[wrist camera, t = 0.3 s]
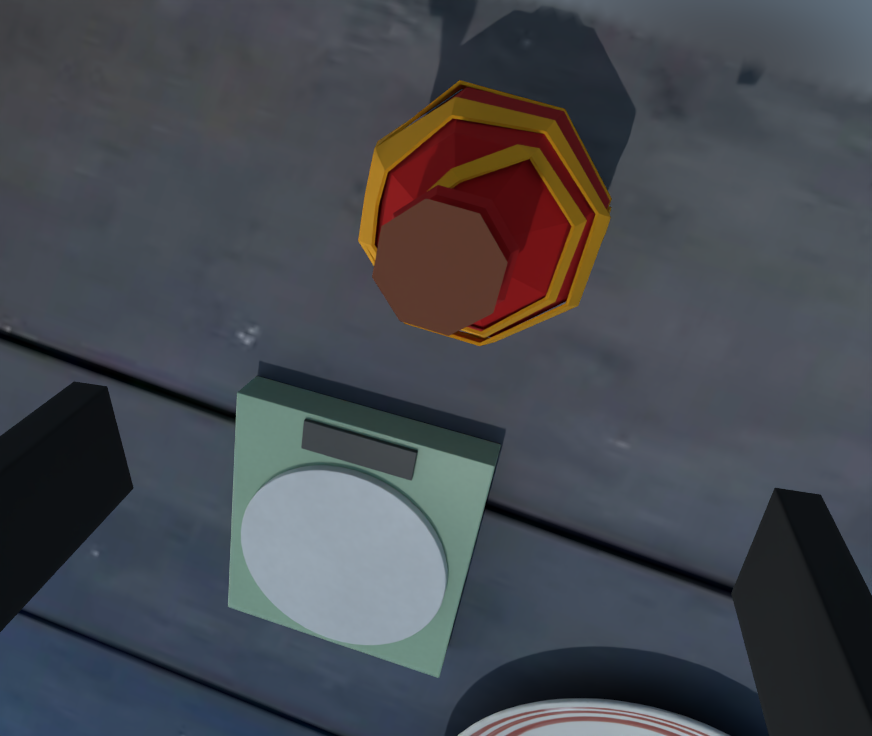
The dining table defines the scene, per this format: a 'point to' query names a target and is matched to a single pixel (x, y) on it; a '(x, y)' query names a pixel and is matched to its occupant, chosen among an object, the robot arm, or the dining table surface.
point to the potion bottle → (483, 215)
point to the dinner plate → (588, 720)
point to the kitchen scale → (353, 521)
